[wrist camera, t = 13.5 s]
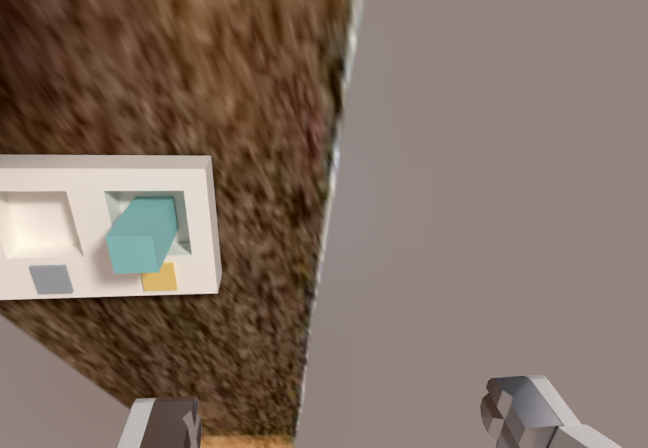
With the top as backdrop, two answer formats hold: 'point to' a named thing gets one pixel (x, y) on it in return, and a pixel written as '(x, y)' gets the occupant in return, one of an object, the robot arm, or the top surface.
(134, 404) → the robot arm
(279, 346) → the top surface
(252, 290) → the top surface
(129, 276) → the socket block
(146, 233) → the plug
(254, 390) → the top surface
